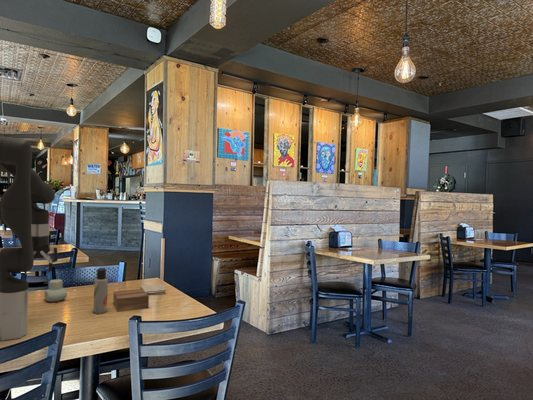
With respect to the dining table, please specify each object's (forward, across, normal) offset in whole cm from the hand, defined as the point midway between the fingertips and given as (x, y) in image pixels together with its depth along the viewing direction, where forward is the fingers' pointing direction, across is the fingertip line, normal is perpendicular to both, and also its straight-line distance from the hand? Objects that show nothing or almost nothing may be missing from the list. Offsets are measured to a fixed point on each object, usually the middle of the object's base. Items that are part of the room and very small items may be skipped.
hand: (37, 272), depth 155 cm
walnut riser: (+21, +39, +5) cm, 45 cm away
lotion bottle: (+21, +25, +1) cm, 33 cm away
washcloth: (+23, +55, +29) cm, 66 cm away
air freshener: (+22, +7, +29) cm, 38 cm away
